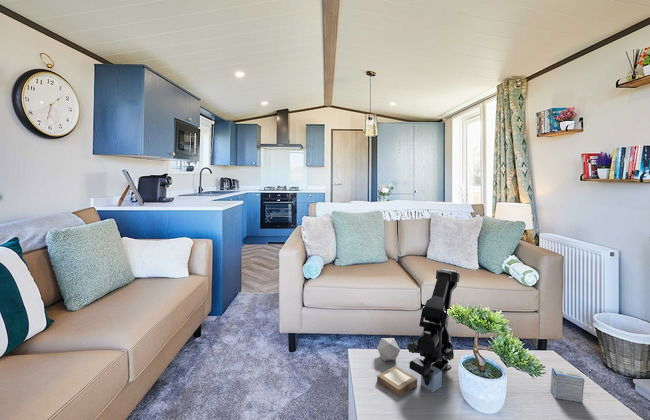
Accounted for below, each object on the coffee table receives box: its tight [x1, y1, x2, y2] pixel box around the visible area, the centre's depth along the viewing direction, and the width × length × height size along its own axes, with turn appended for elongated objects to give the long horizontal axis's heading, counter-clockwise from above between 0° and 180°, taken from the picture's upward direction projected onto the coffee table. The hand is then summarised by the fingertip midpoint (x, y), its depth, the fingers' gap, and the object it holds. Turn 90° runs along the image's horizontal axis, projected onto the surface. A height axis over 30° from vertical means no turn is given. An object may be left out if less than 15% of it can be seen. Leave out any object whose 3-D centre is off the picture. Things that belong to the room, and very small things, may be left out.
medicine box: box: [550, 367, 585, 404], centre depth 107 cm, size 8×4×9 cm, turn 73°
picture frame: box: [376, 365, 418, 398], centre depth 113 cm, size 10×10×3 cm
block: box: [420, 366, 443, 393], centre depth 112 cm, size 5×5×6 cm
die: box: [376, 337, 401, 362], centre depth 129 cm, size 8×9×10 cm
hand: (431, 382), depth 112 cm, fingers closed on block, 5 cm apart
